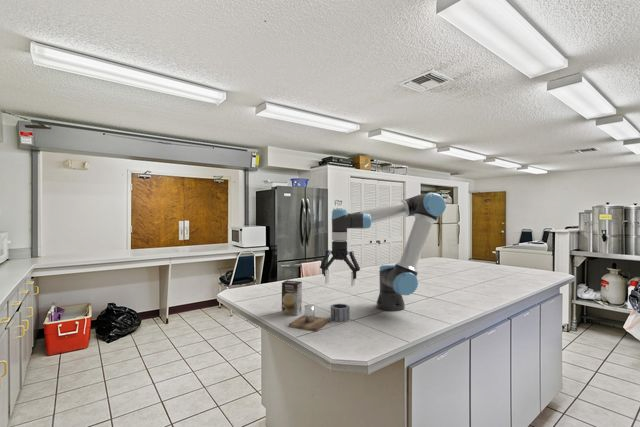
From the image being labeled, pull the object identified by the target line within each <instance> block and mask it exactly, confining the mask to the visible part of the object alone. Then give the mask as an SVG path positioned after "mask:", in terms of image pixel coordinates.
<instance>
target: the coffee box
mask: <svg viewBox="0 0 640 427" xmlns="http://www.w3.org/2000/svg"><path fill="white" fill-rule="evenodd" d="M302 287H303V281H298V280H288V279H287V280H284V281H283V282H281V314H283V315H290V316H298V315H300V314H302V306H303V305H302V304H303V303H302V301H303V300H302V298H303V292H302V291H303V288H302Z"/></svg>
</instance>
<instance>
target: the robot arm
mask: <svg viewBox="0 0 640 427" xmlns="http://www.w3.org/2000/svg"><path fill="white" fill-rule="evenodd" d="M446 206H447V205H446V201H445V199H444V197H443V196H442V195H441V194H439V193H436V192H435V193H433V192H429V193H423V194H417V195H413V196H412V197H408V198H406V199H402V200H401V201H400V202H396V203H392V204H387V205H383V206H379V207H375V208H370V209H366V210H362V211H357V212H352V213H351V212H350V213H348V210H347V209H346V208H345V209H343V208H340V209H338V208H337V209H333V210H332V212H331V240H332V241H331V250H330V249H327V250H325V255H324V257H323V260H322V261H321V263H320V265H319V269H322V270H323V277H324V283H325V285H326V284H329V281H330V279H329V276H330V275H329V274H330V273H329V269H328V268H329V267H330V266H331V265H332V263H333V262H334V261H335V260H336V261H344V262H345V264H347V266H348V267H349V269H350V270H351V273H350V286H351V287H354V286H355V280H356V279H357V273H358V272H360V271H361V267H360V266H359V263H358V261H357V259H356V256H355V252H354V251H353V250H350V251H348V241H347V240H348V229H355V230H356V229H359V230H361V229H363V230H365V229H370V228H371V226H372V224H373V223H378V222H382V221H383V222H384V221H386V220H391V219H395V218H399V217H405V218H408V217H414V218H415V220H414V222H413V225H412V227H411V230H410V232H409V236H408V238H407V240H406V243H405V246H404V249H403V252H402V254H401V257H400V260H399V261H398V262H396V263H395V264H382V265H380V266H379V271H378V273H379V294H378V296H377V299H376V308H378V309H380V310H382V311H383V310H385V311H391V312H393V311H394V312H395V311H402V310H404V309H405V307H406V306H405V300H404V297H403V296H409V295H411V294H414V292H416V291H417V289H418V287H419V281H418V277H417V276H418V274H419V271H418V269H417V268H418V265H419V261H420V258H421V255H422V253H423V250H424V249H425V244H426V241H427V238H428V236H429V233H430V230H431V228H432V225H433V224H436V223H437V221H438V218H439V216H441V215H443V214H444V212H445V210H446ZM330 255H332V256H331V258H330V259H329V257H330ZM348 256H349V257H350V259H351V260H350V259H349V257H348ZM328 260H329V261H328ZM327 261H328V262H327Z"/></svg>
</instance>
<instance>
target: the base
mask: <svg viewBox="0 0 640 427" xmlns="http://www.w3.org/2000/svg"><path fill="white" fill-rule="evenodd" d="M314 318H315V321H314V322H313V323H306V322H305V314H303V315H301V316H300V317H297V318H296V319H294V320H293V321H291V322H290V323H288V327H289V328H295V329H302V330H307V331H313V332H318V331H319V330H321V329H322V328H323V327H324V326H326V325H327V324H328V323H330V320H331V318H327V317H326V318H325V317H318V316H314Z"/></svg>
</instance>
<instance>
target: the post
mask: <svg viewBox="0 0 640 427" xmlns="http://www.w3.org/2000/svg"><path fill="white" fill-rule="evenodd" d="M304 315H305V322H306V323H313V322H314V321H315V318H314V317H315V305H313V304H306V305H304Z"/></svg>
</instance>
